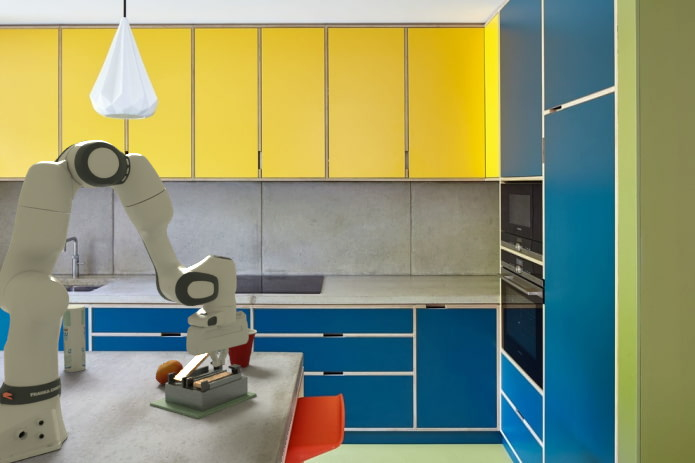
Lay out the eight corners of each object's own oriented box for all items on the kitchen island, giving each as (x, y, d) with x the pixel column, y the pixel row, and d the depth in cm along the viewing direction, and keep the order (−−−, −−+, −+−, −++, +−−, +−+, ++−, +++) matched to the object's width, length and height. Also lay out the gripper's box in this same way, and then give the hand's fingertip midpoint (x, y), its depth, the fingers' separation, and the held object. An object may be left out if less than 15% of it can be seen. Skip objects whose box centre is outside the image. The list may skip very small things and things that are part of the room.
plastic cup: (264, 364, 212) (264, 328, 211) (241, 372, 203) (241, 334, 202) (239, 359, 218) (239, 324, 217) (216, 366, 209) (216, 330, 208)
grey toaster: (202, 412, 165) (202, 381, 165) (165, 401, 173) (164, 372, 172) (247, 394, 179) (247, 366, 179) (211, 385, 187) (211, 358, 186)
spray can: (88, 369, 204) (87, 307, 202) (66, 373, 200) (64, 309, 199) (83, 365, 209) (82, 304, 208) (62, 368, 206) (60, 306, 204)
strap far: (182, 383, 171) (180, 380, 170) (174, 381, 172) (173, 378, 172) (210, 353, 179) (209, 351, 179) (203, 352, 181) (202, 349, 180)
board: (197, 419, 162) (197, 416, 162) (150, 405, 172) (150, 402, 172) (256, 395, 180) (256, 393, 180) (210, 384, 190) (210, 382, 190)
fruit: (182, 384, 186) (168, 359, 186) (160, 396, 187) (147, 372, 188) (194, 376, 193) (181, 352, 194) (173, 387, 195) (160, 364, 195)
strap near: (200, 388, 167) (200, 384, 167) (193, 386, 169) (193, 382, 169) (233, 376, 177) (233, 373, 177) (225, 375, 179) (225, 371, 179)
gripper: (237, 308, 184) (236, 356, 185) (182, 318, 167) (182, 371, 168) (254, 311, 181) (253, 360, 181) (200, 322, 163) (199, 375, 164)
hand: (218, 365), depth 174 cm, fingers closed
